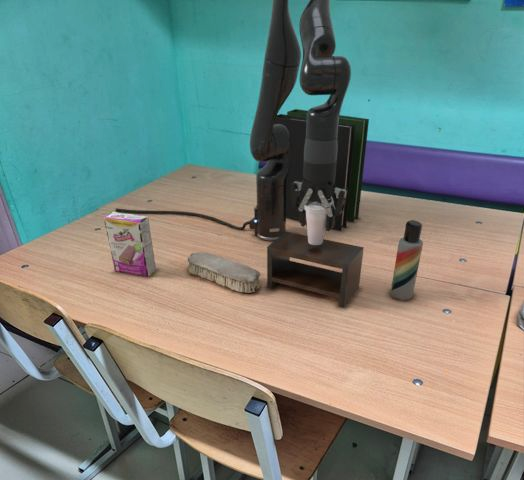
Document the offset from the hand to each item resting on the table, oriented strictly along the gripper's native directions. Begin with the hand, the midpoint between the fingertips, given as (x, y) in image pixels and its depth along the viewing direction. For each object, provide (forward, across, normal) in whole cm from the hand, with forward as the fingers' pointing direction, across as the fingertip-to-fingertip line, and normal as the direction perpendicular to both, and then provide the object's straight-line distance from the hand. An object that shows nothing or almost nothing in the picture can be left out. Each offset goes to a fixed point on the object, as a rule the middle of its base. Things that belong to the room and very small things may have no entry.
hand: (316, 227), depth 122 cm
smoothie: (+4, 0, 0) cm, 4 cm away
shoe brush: (+17, +24, +7) cm, 31 cm away
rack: (+17, 0, 0) cm, 17 cm away
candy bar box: (+18, +49, +15) cm, 54 cm away
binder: (+18, +20, -46) cm, 53 cm away
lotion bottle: (+17, -22, -7) cm, 29 cm away
